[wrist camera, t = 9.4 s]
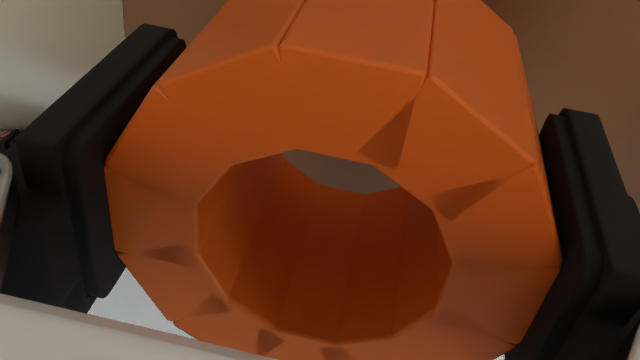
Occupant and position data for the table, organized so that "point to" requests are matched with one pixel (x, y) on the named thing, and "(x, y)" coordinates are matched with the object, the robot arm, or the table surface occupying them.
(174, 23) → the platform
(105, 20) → the table surface
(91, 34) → the table surface
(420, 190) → the ring
